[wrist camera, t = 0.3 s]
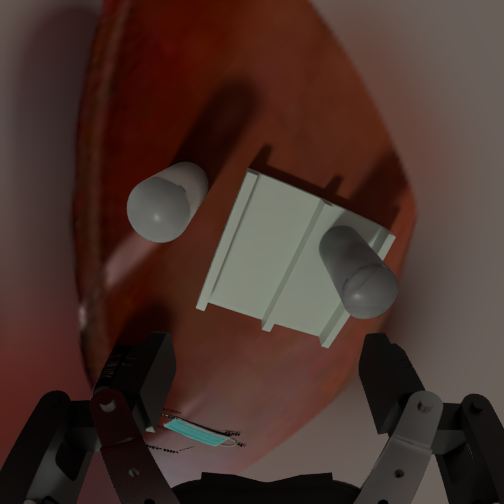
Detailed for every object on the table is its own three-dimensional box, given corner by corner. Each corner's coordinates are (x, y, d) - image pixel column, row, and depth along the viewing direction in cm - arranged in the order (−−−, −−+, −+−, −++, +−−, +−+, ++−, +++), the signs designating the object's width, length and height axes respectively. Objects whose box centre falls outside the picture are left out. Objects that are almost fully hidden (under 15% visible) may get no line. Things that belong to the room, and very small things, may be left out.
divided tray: (247, 167, 30) (247, 171, 27) (385, 227, 32) (395, 236, 30) (199, 294, 36) (195, 308, 33) (323, 333, 38) (328, 348, 36)
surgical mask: (140, 446, 46) (136, 421, 42) (145, 429, 50) (142, 402, 46) (245, 464, 47) (256, 442, 43) (245, 446, 51) (256, 422, 47)
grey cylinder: (331, 218, 31) (362, 258, 22) (368, 235, 32) (408, 277, 23) (311, 258, 33) (332, 310, 24) (348, 273, 34) (378, 324, 24)
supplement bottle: (114, 371, 42) (89, 428, 31) (108, 340, 39) (76, 399, 28) (154, 380, 42) (135, 441, 31) (151, 349, 40) (127, 414, 29)
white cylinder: (170, 155, 29) (136, 169, 20) (215, 170, 30) (199, 190, 21) (157, 199, 31) (121, 229, 22) (199, 214, 32) (179, 251, 23)
